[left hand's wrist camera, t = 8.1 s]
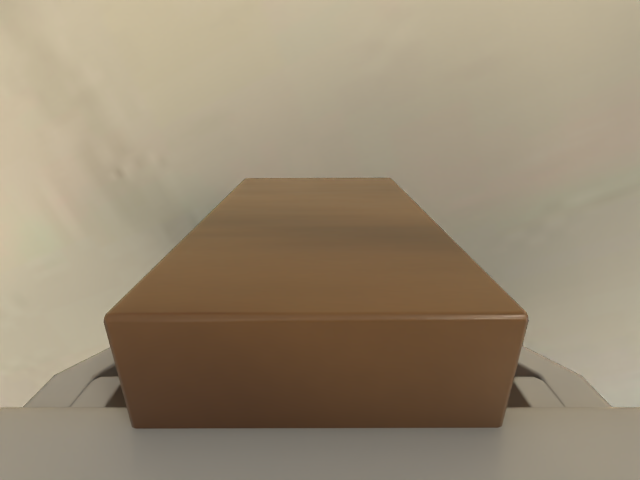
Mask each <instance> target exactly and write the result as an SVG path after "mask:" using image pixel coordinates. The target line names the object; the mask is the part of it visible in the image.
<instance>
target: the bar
mask: <svg viewBox="0 0 640 480" xmlns="http://www.w3.org/2000/svg"><path fill="white" fill-rule="evenodd" d="M528 321H529V320H528V315H527V313H526V312H525V311H524V310H523V309H522V308H521V307H520V306H519V305H518V304H517V303H516V302H515V301H514V300H513V299H512V298H511V297H510V296H509V295H508V294H507V293H506V292H505V291H504V290H503V289H502V288H501V287H500V286H499V285H498V284H497V283H496V282H495V281H494V280H493V279H492V278H491V277H490V276H489V275H488V274H487V273H486V272H485V271H484V270H483V269H482V268H481V267H480V266H479V265H478V264H477V263H476V262H475V261H474V260H473V259H472V258H471V257H470V256H469V255H468V254H467V253H466V252H465V251H464V250H463V249H462V248H461V247H460V246H459V245H458V244H457V243H456V242H455V241H454V240H453V239H452V238H451V237H450V236H449V235H448V234H447V233H446V232H445V231H444V230H443V229H442V228H441V227H440V226H439V225H438V224H437V223H436V222H435V221H434V220H433V219H432V218H431V217H430V216H429V215H427V214H426V213H425V212H424V211H423V210H422V209H421V208H420V207H419V206H418V205H417V204H416V203H415V202H414V201H413V200H412V199H411V198H410V197H409V196H408V195H407V194H406V193H405V192H404V191H403V190H402V189H401V188H400V187H399V186H398V185H397V184H396V183H395V182H394V181H393V180H392V179H391V178H246V179H244V180H243V181H242V182H241V183H240V184H239V185H238V186H237V187H236V188H235V189H234V190H233V191H232V192H231V193H230V194H229V195H228V196H227V197H226V198H225V199H224V200H223V201H222V202H221V203H220V204H219V205H217V206H216V207H215V208H214V209H213V210H212V211H211V212H210V213H209V214H208V215H207V216H206V217H205V218H204V219H203V220H202V221H201V222H200V223H199V224H198V225H197V226H196V227H195V228H194V229H193V230H192V231H191V232H190V233H189V234H188V235H187V236H186V237H185V238H184V239H183V240H182V241H181V242H179V243H178V244H177V245H176V246H175V247H174V248H173V249H172V250H171V251H170V252H169V253H168V254H167V255H166V256H165V257H164V258H163V259H162V260H161V261H160V262H159V263H158V264H157V265H156V266H155V267H154V268H153V269H152V270H151V271H150V272H149V273H148V274H147V275H146V276H145V277H144V278H143V279H141V280H140V281H139V282H138V283H137V284H136V285H135V286H134V287H133V288H132V289H131V290H130V291H129V292H128V293H127V294H126V295H125V296H124V297H123V298H122V299H121V300H120V301H119V302H118V303H117V304H116V305H115V306H114V307H113V308H112V309H111V310H110V311H109V312H108V313H107V314H106V315H105V317H104V325H105V329H106V332H107V336H108V340H109V344H110V347H111V351H112V355H113V359H114V362H115V366H116V370H117V373H118V377H119V381H120V385H121V388H122V392H123V396H124V400H125V403H126V407H127V411H128V414H129V418H130V422H131V426H132V427H133V428H135V429H189V428H499V427H501V426H502V424H503V420H504V416H505V412H506V408H507V404H508V400H509V396H510V392H511V388H512V384H513V380H514V376H515V372H516V368H517V364H518V360H519V356H520V352H521V348H522V344H523V340H524V336H525V333H526V329H527V325H528Z"/></svg>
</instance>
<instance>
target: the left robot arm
mask: <svg viewBox="0 0 640 480" xmlns="http://www.w3.org/2000/svg"><path fill="white" fill-rule="evenodd" d="M0 480H640V407H611V406H610V405H609V404H608V403H607V402H606V400H605V399H604V398H603V397H602V396H601V395H600V394H599V393H598V392H597V391H596V390H595V389H594V388H593V387H592V386H591V385H590V384H589V383H588V382H587V381H586V380H585V379H584V378H583V377H582V376H581V375H579V374H577V373H575V372H573V371H571V370H569V369H567V368H565V367H563V366H561V365H559V364H557V363H555V362H553V361H551V360H549V359H547V358H546V357H544V356H542V355H540V354H538V353H536V352H534V351H532V350H530V349H528V348H526V347H524V346H522V348H521V352H520V356H519V360H518V364H517V368H516V372H515V376H514V380H513V384H512V388H511V392H510V396H509V400H508V404H507V408H506V412H505V416H504V420H503V424H502V426H501V427H499V428H189V429H135V428H133V427H132V426H131V422H130V418H129V414H128V411H127V407H126V403H125V400H124V396H123V392H122V388H121V385H120V381H119V377H118V373H117V370H116V366H115V362H114V359H113V355H112V351H111V347H110V348H108V349H106V350H104V351H102V352H100V353H98V354H96V355H94V356H92V357H90V358H88V359H86V360H84V361H82V362H80V363H78V364H76V365H74V366H72V367H70V368H68V369H66V370H64V371H62V372H60V373H58V374H56V375H54V376H53V377H52V378H51V379H50V380H49V381H48V382H47V383H46V384H45V385H44V386H43V387H42V388H41V389H40V390H39V391H38V392H37V393H36V394H35V395H34V396H33V397H32V398H31V399H30V400H29V401H28V402H27V403H26V404H25V405H24V406H23V407H0Z"/></svg>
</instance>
